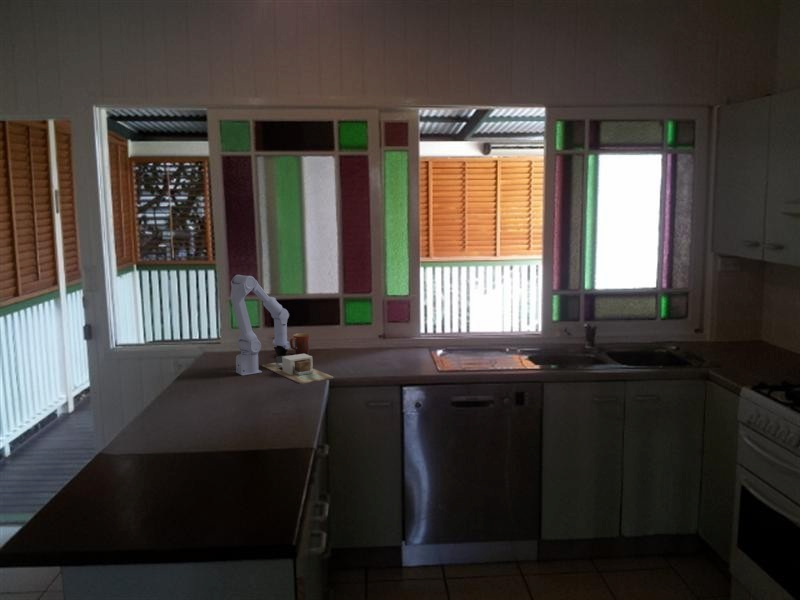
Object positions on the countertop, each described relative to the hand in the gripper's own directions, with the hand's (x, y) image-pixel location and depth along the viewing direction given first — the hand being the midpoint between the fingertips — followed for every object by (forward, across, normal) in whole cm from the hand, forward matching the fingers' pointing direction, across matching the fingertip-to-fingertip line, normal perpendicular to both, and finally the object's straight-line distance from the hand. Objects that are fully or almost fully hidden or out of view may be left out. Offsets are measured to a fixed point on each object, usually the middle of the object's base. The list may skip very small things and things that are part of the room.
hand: (281, 361), depth 295 cm
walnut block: (0, -21, 0) cm, 21 cm away
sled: (+1, -13, 0) cm, 13 cm away
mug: (+2, +14, -17) cm, 23 cm away
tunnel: (+2, -16, 0) cm, 17 cm away
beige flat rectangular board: (+2, -14, 0) cm, 15 cm away
